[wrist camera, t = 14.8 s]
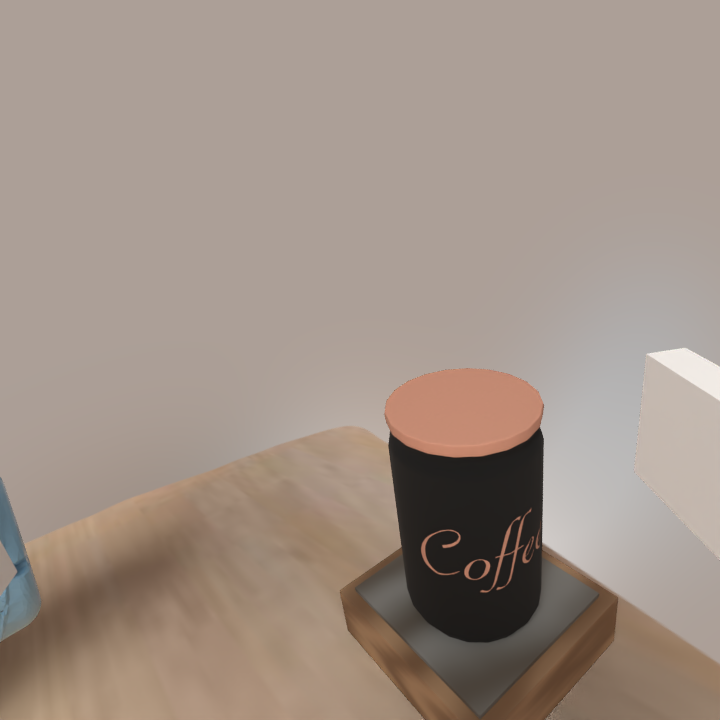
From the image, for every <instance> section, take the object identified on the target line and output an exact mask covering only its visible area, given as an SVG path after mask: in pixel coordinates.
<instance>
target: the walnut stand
mask: <svg viewBox="0 0 720 720" xmlns="http://www.w3.org/2000/svg"><path fill="white" fill-rule="evenodd" d="M340 594H341V599H342V604H343V609H344V614H345V618H346V623H347V628H348V631H349V632H350V633H351V634H352V635H353V636H354V638H355V639H356V640H357V641H358V642H359V643H360V645H361V646H362V647H363V648H364V649H365V650H366V652H367V653H368V654H369V655H370V656H371V657H372V658H373V660H374V661H375V662H376V663H377V664H378V665H379V667H380V668H381V669H382V670H383V671H384V672H385V674H386V675H387V676H388V677H389V678H390V679H391V680H392V682H393V683H394V684H395V685H396V686H397V687H398V689H399V690H400V691H401V692H402V693H403V694H404V696H405V697H406V698H407V699H408V700H409V701H410V702H411V704H412V705H413V706H414V707H415V708H416V709H417V711H418V712H419V713H420V714H421V715H422V716H423V718H424V719H425V720H544V719H545V718H546V717H547V716H548V715H549V714H550V713H551V711H552V710H553V709H554V708H555V707H556V706H557V705H558V703H559V702H560V701H561V700H562V699H563V698H564V697H565V695H566V694H567V693H568V692H569V691H570V690H571V689H572V687H573V686H574V685H575V684H576V683H577V682H578V681H579V679H580V678H581V677H582V676H583V675H584V674H585V673H586V672H587V670H588V669H589V668H590V667H591V666H592V665H593V664H594V662H595V661H596V660H597V659H598V658H599V657H600V656H601V654H602V653H603V652H604V651H605V650H606V649H607V648H608V646H609V645H610V644H611V643H612V642H613V641H614V632H615V622H616V613H617V603H618V597H617V596H615V595H613V594H612V593H610V592H609V591H607V590H605V589H604V588H602V587H601V586H599V585H597V584H596V583H594V582H593V581H591V580H589V579H588V578H586V577H585V576H583V575H581V574H580V573H578V572H577V571H575V570H573V569H572V568H570V567H569V566H567V565H565V564H564V563H562V562H561V561H559V560H557V559H556V558H554V557H552V556H551V555H549V554H548V553H546V552H544V551H543V550H542V575H541V593H540V600H539V606H538V607H537V609H536V610H535V612H534V613H533V615H532V617H531V618H530V620H529V621H528V623H527V624H526V625H524V626H523V627H521V628H520V629H518V630H517V631H516V632H514V633H513V634H511V635H510V636H508V637H506V638H502V639H499V640H495V641H492V642H488V643H484V642H465V641H462V640H459V639H456V638H452V637H449V636H447V635H446V634H444V633H442V632H441V631H439V630H438V629H436V628H435V627H433V626H432V625H430V624H429V623H427V621H426V620H425V619H424V618H423V617H422V615H421V614H420V613H419V612H418V610H417V609H416V608H415V607H414V606H413V603H412V600H411V598H410V595H409V592H408V589H407V583H406V575H405V568H404V560H403V553H402V547H401V548H400V549H399V550H397V551H396V552H394V553H393V554H391V555H390V556H388V557H387V558H386V559H384V560H383V561H381V562H380V563H378V564H377V565H376V566H374V567H373V568H371V569H370V570H368V571H367V572H366V573H364V574H363V575H361V576H360V577H358V578H357V579H356V580H354V581H353V582H351V583H350V584H348V585H347V586H345V587H344V588H343V589H341V590H340Z"/></svg>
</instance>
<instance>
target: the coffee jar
mask: <svg viewBox="0 0 720 720" xmlns="http://www.w3.org/2000/svg"><path fill="white" fill-rule="evenodd" d="M543 408H544V404H543V402H542V399H541V397H540V395H539V392H538V391H537V390H536V389H535V388H533V387H532V386H531V385H530V384H528V383H527V382H526V381H524V380H521V379H519V378H517V377H514V376H512V375H510V374H506V373H502V372H497V371H492V370H485V369H470V368H466V369H453V370H452V369H451V370H443V371H438V372H434V373H429V374H425V375H422V376H420V377H417V378H415V379H412V380H410V381H408V382H406V383H405V384H403V385H402V386H400V387H399V388H397V389H396V390H394V392H393V393H392V394H391V396H390V397H389V398H388V399H387V401H386V407H385V419H386V423H387V424H388V426H389V429H390V438H389V454H390V462H391V469H392V477H393V484H394V492H395V500H396V507H397V515H398V522H399V530H400V537H401V545H402V553H403V560H404V568H405V575H406V583H407V589H408V592H409V595H410V598H411V600H412V603H413V606H414V607H415V608H416V609H417V610H418V612H419V613H420V614H421V615H422V617H423V618H424V619H425V620H426V621H427V623H429V624H430V625H432V626H433V627H435V628H436V629H438V630H439V631H441V632H442V633H444V634H446V635H447V636H449V637H452V638H456V639H459V640H462V641H465V642H484V643H488V642H492V641H495V640H499V639H502V638H506V637H508V636H510V635H511V634H513V633H514V632H516V631H517V630H518V629H520V628H521V627H523V626H524V625H526V624H527V623H528V621H529V620H530V618H531V617H532V615H533V613H534V612H535V610H536V609H537V607H538V606H539V600H540V593H541V575H542V511H543V509H542V507H543V445H544V438H543V435H542V432H541V429H540V424H541V419H542V415H543Z"/></svg>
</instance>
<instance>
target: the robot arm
mask: <svg viewBox="0 0 720 720" xmlns="http://www.w3.org/2000/svg"><path fill="white" fill-rule="evenodd" d="M634 472H635V473H636V474H637V475H638V476H639V477H640V478H641V479H642V480H643V482H644V483H646V485H648V487H649V488H650V489H651V490H652V491H653V492H654V493H655V494H656V495H657V496H658V497H659V498H660V499H661V500H662V501H663V502H664V503H665V504H666V505H667V506H668V507H669V508H670V509H671V510H672V512H674V514H675V515H676V516H677V517H678V518H679V519H680V520H681V521H682V522H683V523H684V524H685V525H686V526H687V527H688V528H689V529H690V530H691V531H692V532H693V533H694V534H695V535H696V536H697V537H698V538H699V539H700V540H701V542H703V543H704V545H705V546H706V547H707V548H708V549H709V550H710V551H711V552H712V553H713V554H714V555H715V556H716V557H717V558H718V559H719V560H720V367H719V366H717V365H716V364H714V363H712V362H710V361H708V360H707V359H705V358H703V357H701V356H699V355H697V354H696V353H694V352H692V351H690V350H688V349H687V348H681V349H674V350H668V351H662V352H656V353H649V354H646V362H645V372H644V381H643V391H642V401H641V410H640V420H639V429H638V439H637V448H636V458H635V467H634ZM40 608H41V597H40V594H39V590H38V587H37V584H36V581H35V577H34V574H33V571H32V568H31V565H30V562H29V559H28V555H27V552H26V549H25V546H24V543H23V540H22V537H21V534H20V531H19V528H18V525H17V522H16V519H15V516H14V513H13V510H12V507H11V504H10V501H9V498H8V495H7V492H6V489H5V486H4V484H3V481H2V479H1V477H0V643H1V641H2V640H4V639H6V638H8V637H9V636H11V635H13V634H14V633H16V632H18V631H20V630H21V629H23V628H25V627H26V626H28V625H29V624H30V623H31V622H32V621H33V620H34V619H35V618H36V617H37V615H38V613H39V611H40Z"/></svg>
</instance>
